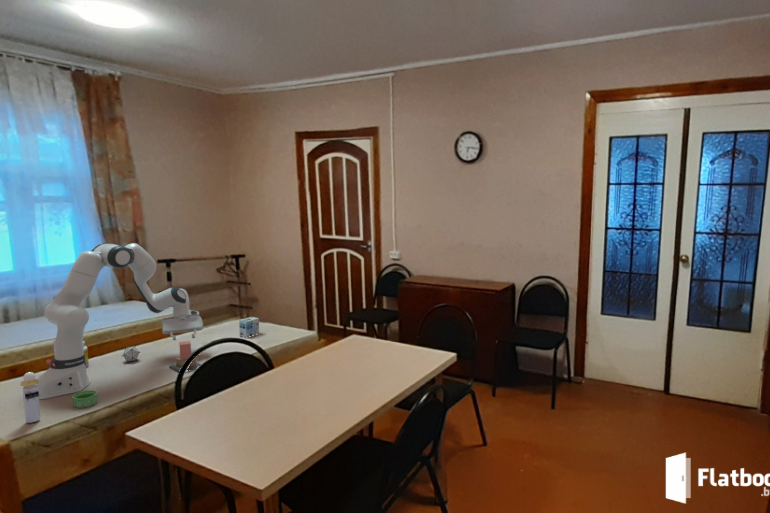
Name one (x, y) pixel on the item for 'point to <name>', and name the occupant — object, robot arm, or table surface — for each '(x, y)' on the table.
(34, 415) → the perfume bottle
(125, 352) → the game die
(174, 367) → the tower base
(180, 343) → the red block
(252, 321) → the light bulb box
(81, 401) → the ramekin
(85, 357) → the supplement bottle
